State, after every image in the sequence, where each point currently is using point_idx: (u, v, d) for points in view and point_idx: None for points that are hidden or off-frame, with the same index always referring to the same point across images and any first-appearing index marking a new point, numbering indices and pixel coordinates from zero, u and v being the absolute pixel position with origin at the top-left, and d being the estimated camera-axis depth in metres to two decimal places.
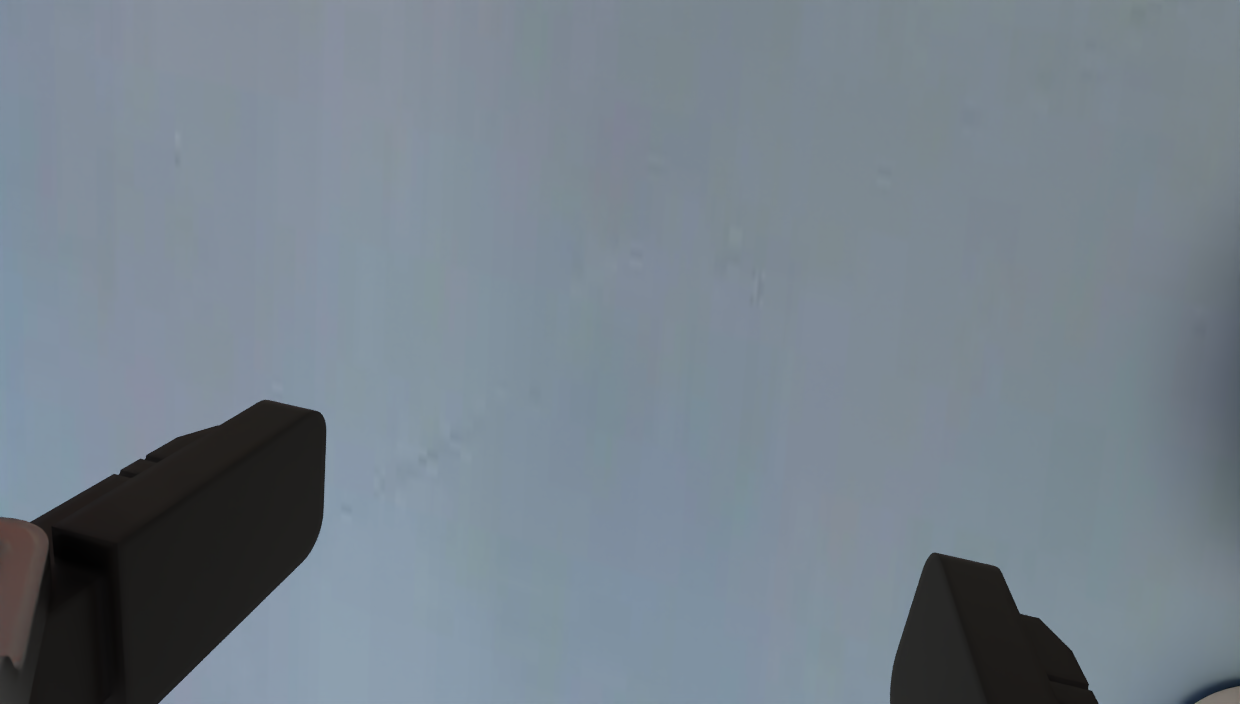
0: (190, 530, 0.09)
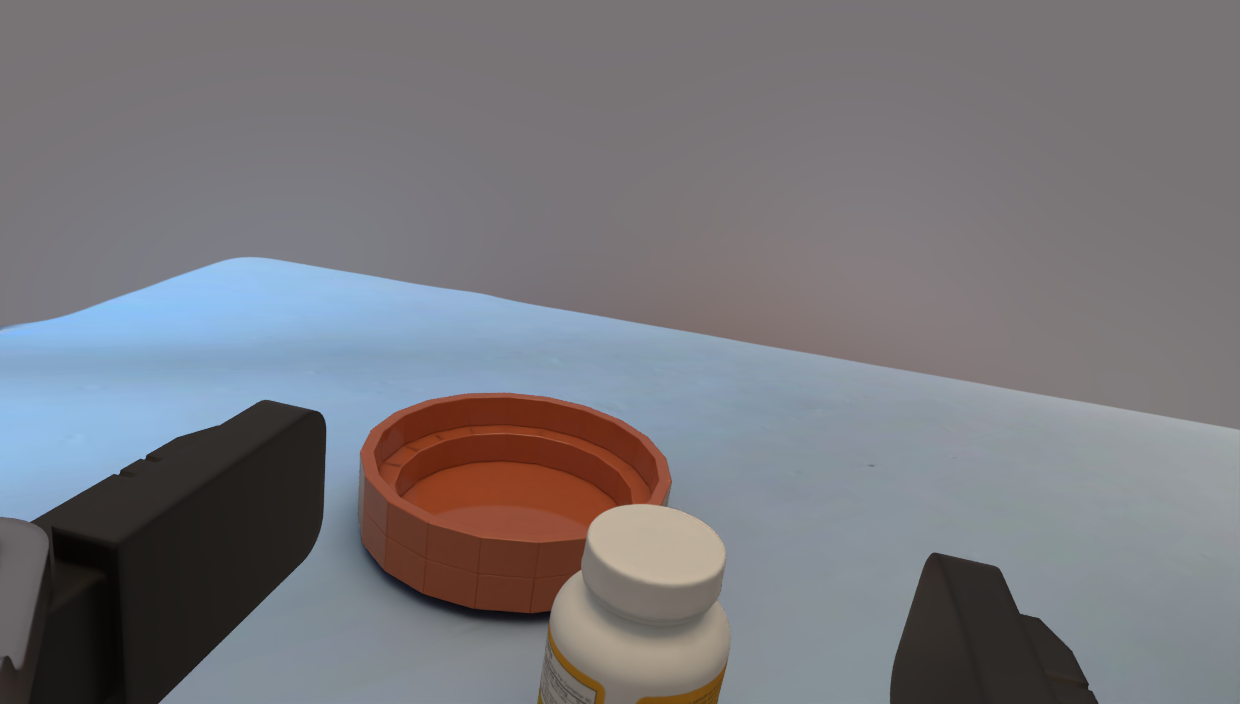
0: (190, 530, 0.09)
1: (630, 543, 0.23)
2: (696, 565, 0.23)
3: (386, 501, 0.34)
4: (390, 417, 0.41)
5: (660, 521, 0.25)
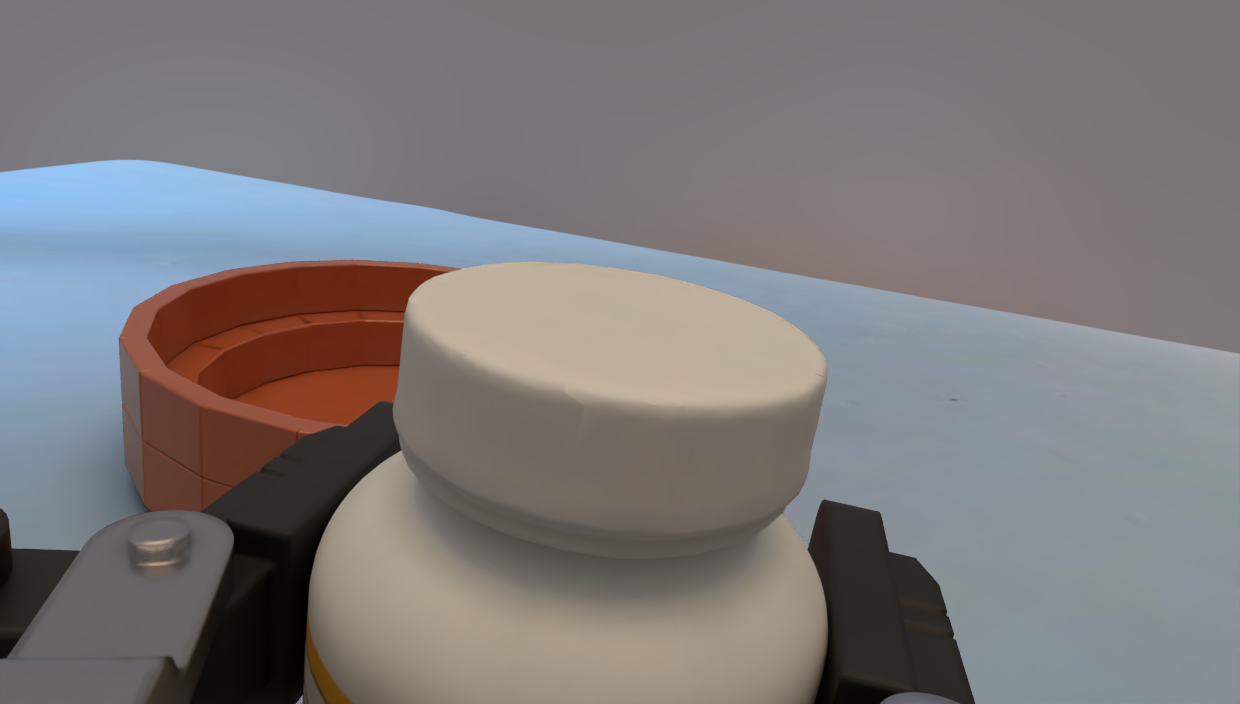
0: None
1: (538, 316, 0.08)
2: (740, 370, 0.07)
3: (138, 373, 0.18)
4: (213, 274, 0.25)
5: (634, 291, 0.09)
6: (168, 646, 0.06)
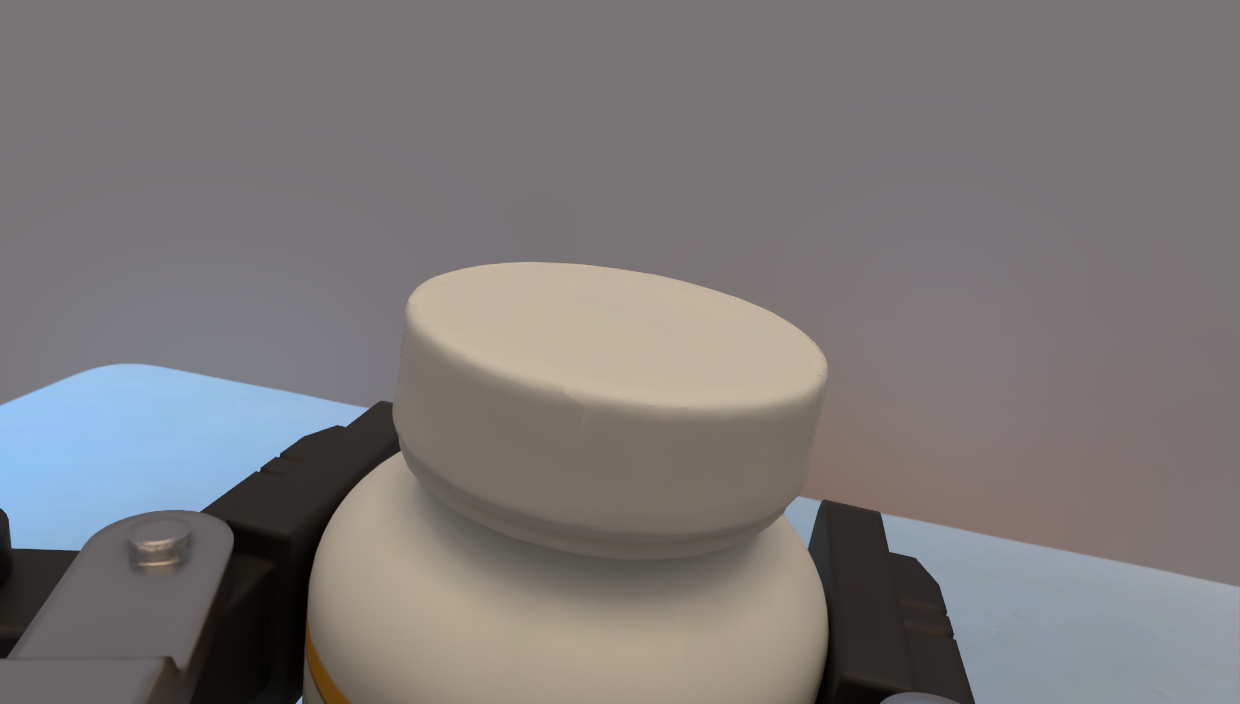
0: None
1: (538, 316, 0.08)
2: (741, 369, 0.07)
3: None
4: None
5: (634, 291, 0.09)
6: (168, 646, 0.06)
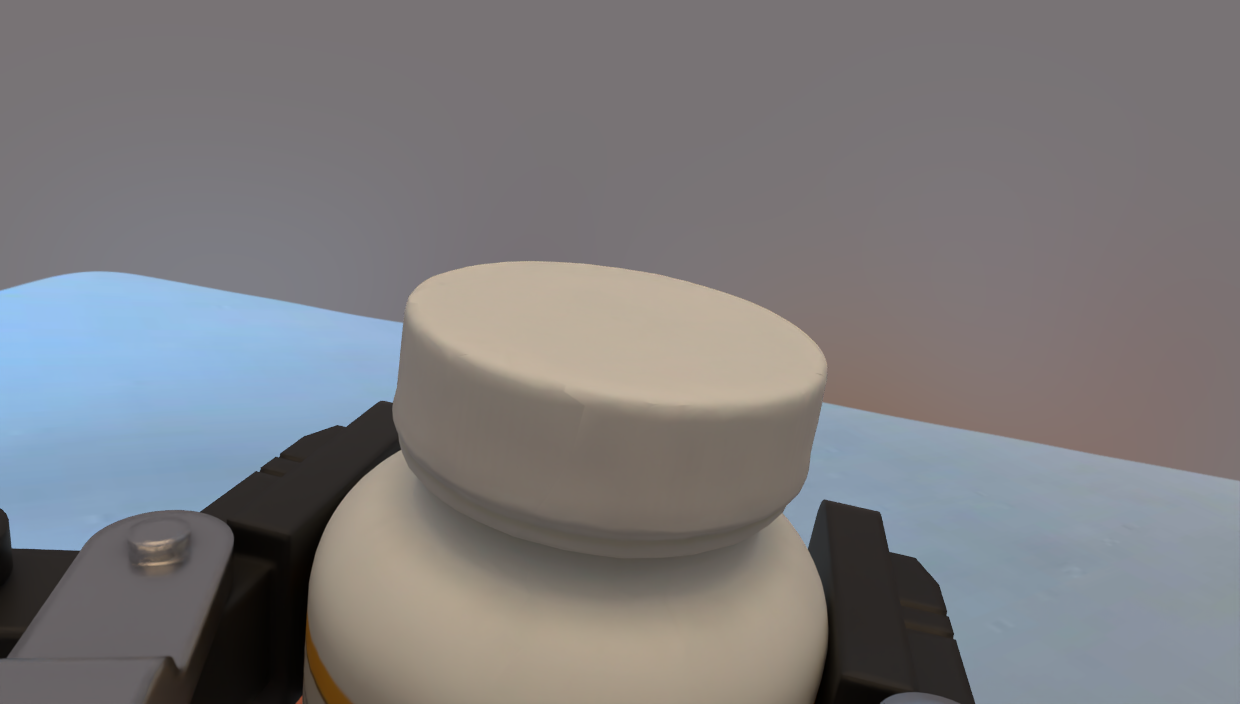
0: None
1: (537, 315, 0.08)
2: (741, 369, 0.07)
3: None
4: None
5: (633, 290, 0.09)
6: (168, 646, 0.06)
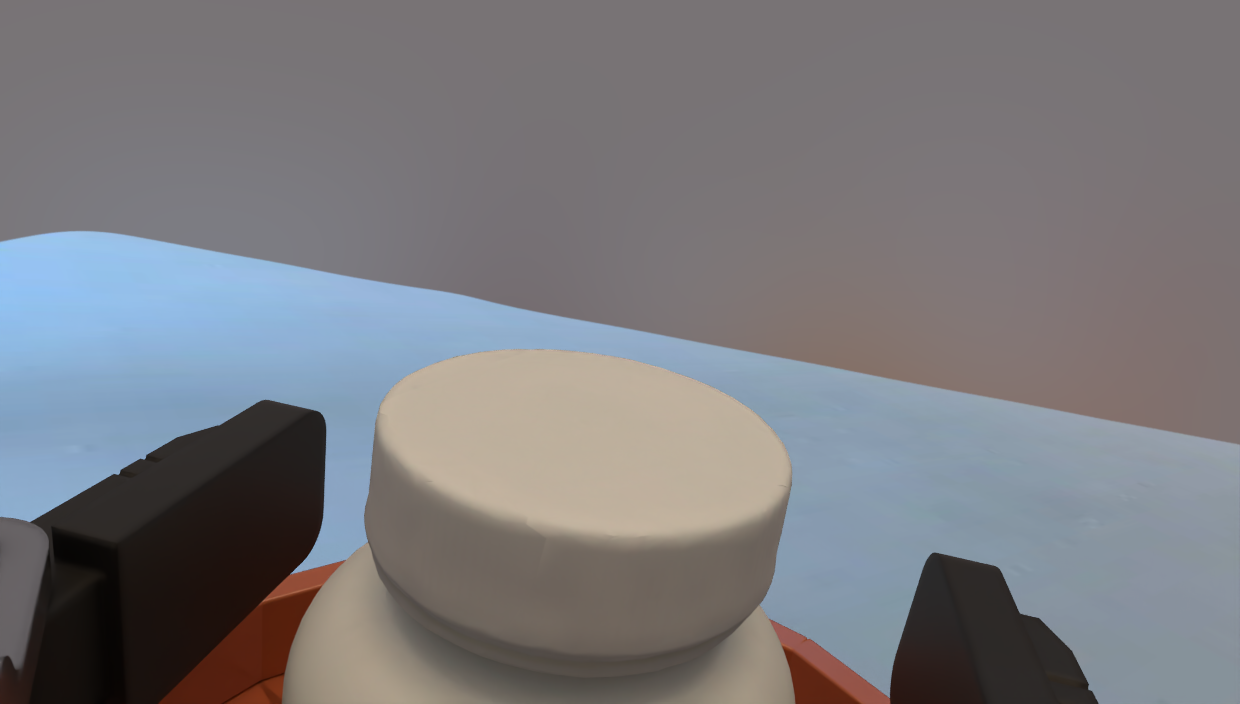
0: (190, 530, 0.09)
1: (507, 424, 0.08)
2: (704, 484, 0.07)
3: None
4: None
5: (606, 383, 0.09)
6: None
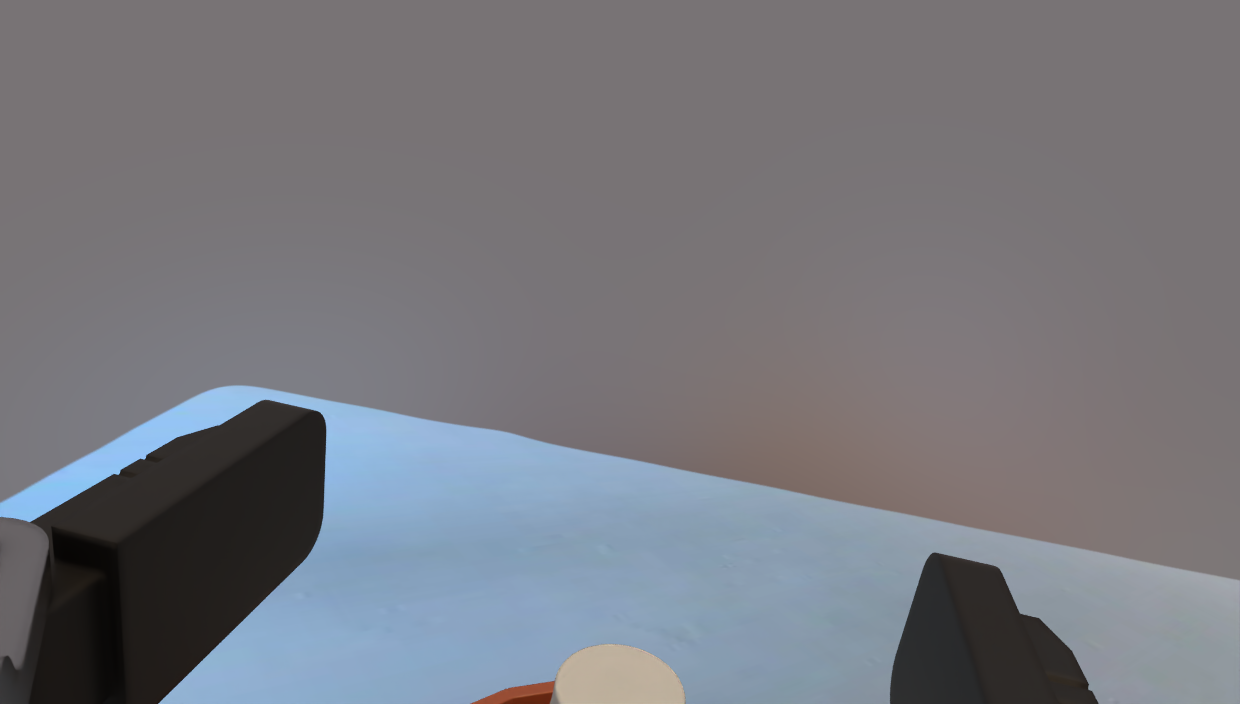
0: (190, 530, 0.09)
1: (595, 692, 0.25)
2: None
3: None
4: None
5: (625, 664, 0.26)
6: None
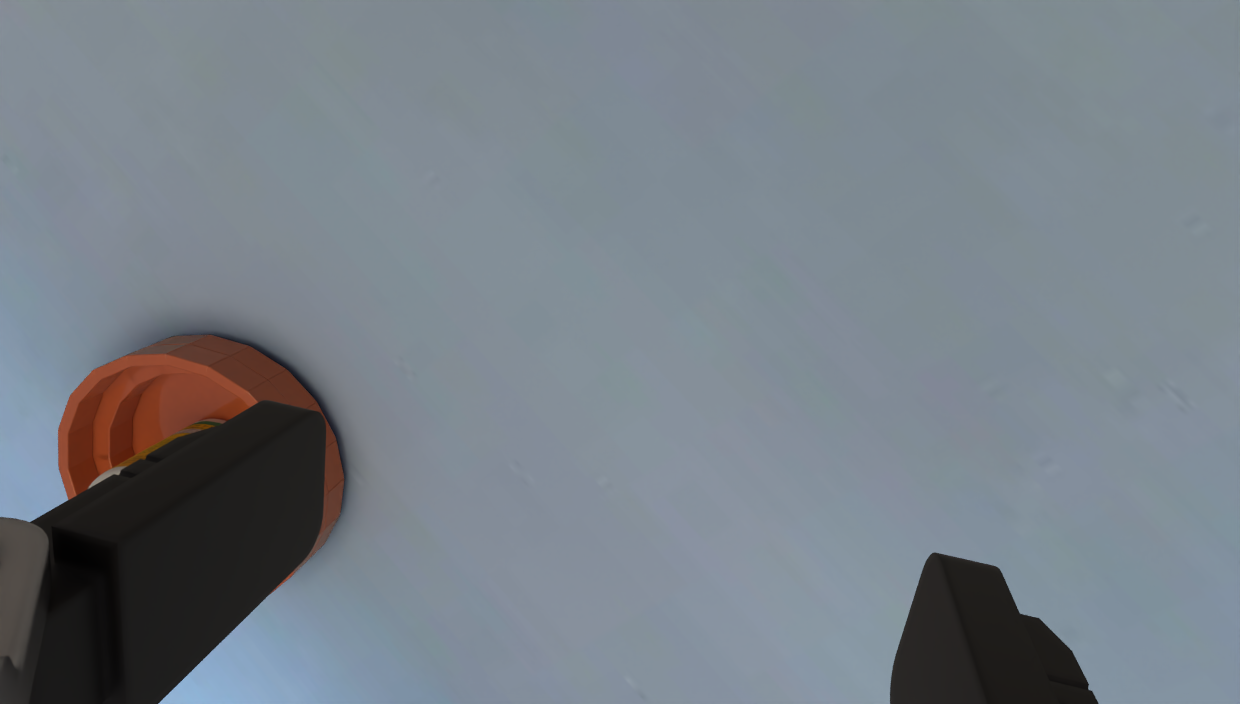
0: (190, 530, 0.09)
1: None
2: None
3: None
4: None
5: None
6: None
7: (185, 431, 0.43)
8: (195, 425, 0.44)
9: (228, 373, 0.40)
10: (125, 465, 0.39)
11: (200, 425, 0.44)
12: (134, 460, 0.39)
